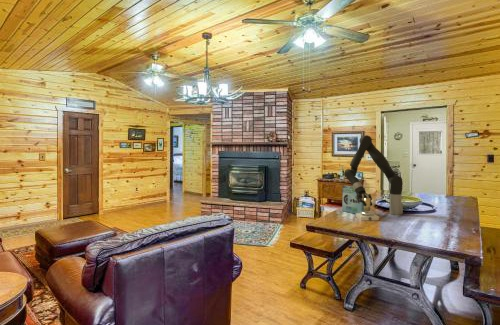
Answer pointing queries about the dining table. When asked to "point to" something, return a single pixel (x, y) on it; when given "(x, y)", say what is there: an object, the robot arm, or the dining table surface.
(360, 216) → the base
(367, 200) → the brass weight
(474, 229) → the dining table surface
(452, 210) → the dining table surface
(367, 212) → the scale pan
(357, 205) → the gum box
